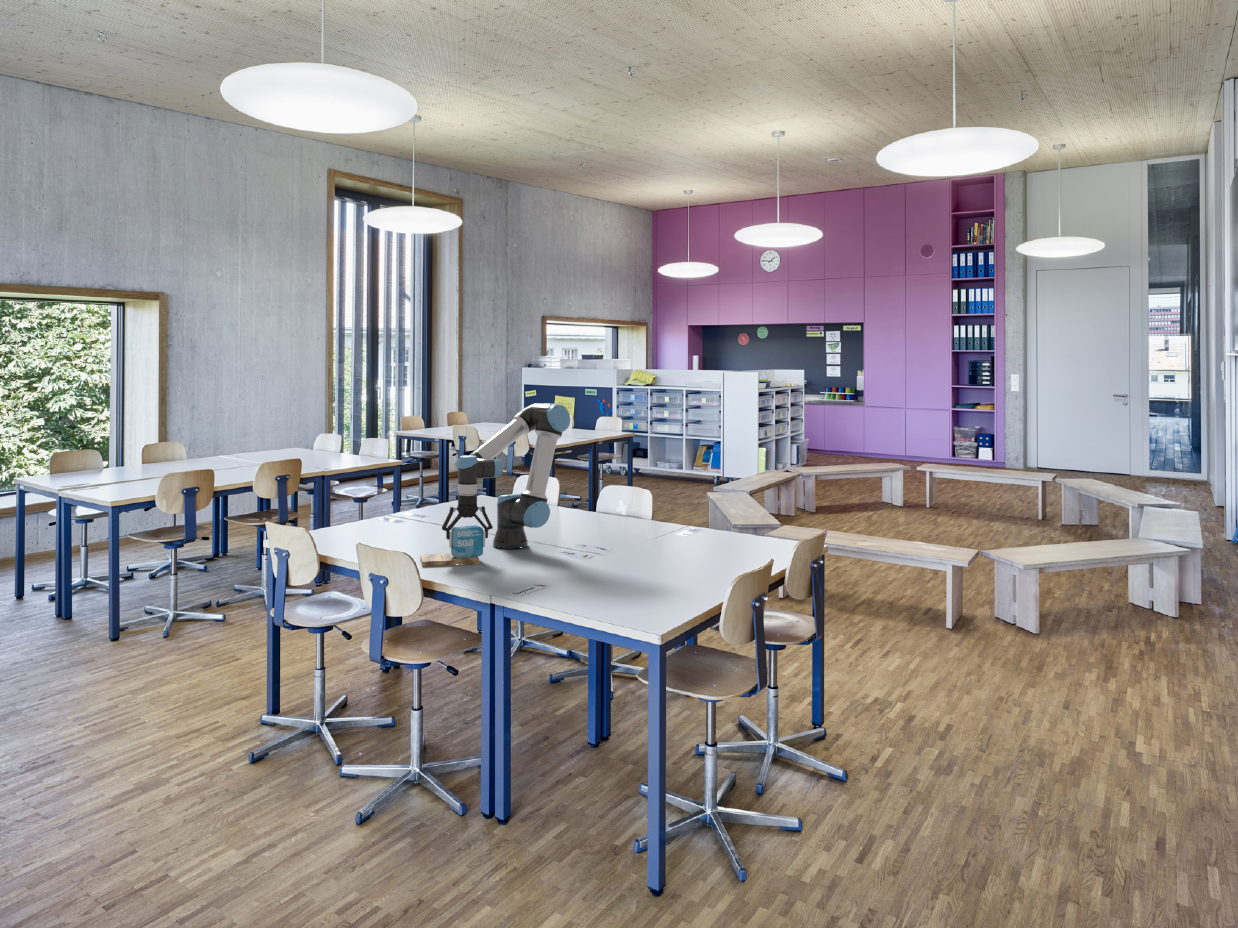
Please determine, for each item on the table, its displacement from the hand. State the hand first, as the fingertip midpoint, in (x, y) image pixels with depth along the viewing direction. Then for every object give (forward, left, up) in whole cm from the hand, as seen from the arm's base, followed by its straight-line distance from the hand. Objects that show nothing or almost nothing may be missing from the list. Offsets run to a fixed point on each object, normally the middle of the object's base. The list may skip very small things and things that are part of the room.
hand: (467, 547), depth 335 cm
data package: (0, 0, -4) cm, 4 cm away
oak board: (+7, 0, -6) cm, 9 cm away
